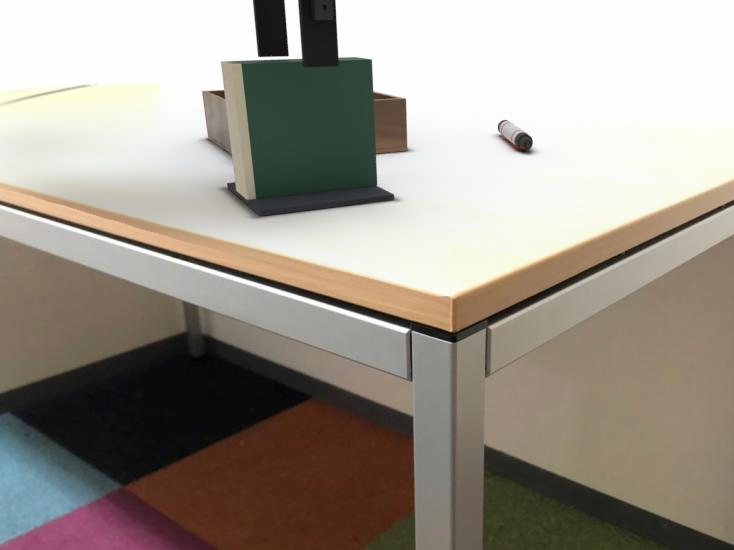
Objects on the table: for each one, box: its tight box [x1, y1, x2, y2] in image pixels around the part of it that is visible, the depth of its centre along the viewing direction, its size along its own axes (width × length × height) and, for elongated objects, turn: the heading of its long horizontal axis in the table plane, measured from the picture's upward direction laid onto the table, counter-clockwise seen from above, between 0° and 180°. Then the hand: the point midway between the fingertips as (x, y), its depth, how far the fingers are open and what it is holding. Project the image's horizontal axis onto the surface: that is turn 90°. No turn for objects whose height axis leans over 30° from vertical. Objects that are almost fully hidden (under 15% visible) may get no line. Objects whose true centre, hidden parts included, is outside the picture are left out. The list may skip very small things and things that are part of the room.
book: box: [220, 56, 378, 200], centre depth 66 cm, size 4×12×11 cm, turn 118°
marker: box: [497, 119, 534, 152], centre depth 93 cm, size 15×2×2 cm, turn 7°
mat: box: [226, 181, 395, 217], centre depth 68 cm, size 12×12×1 cm
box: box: [201, 89, 408, 156], centre depth 92 cm, size 21×19×6 cm
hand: (295, 61), depth 64 cm, fingers open, 13 cm apart
